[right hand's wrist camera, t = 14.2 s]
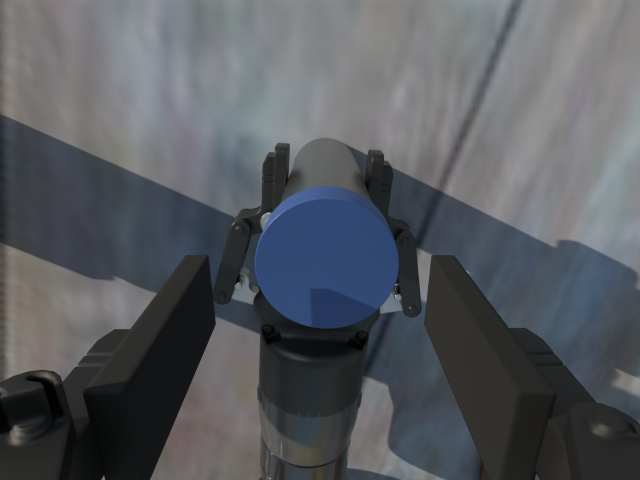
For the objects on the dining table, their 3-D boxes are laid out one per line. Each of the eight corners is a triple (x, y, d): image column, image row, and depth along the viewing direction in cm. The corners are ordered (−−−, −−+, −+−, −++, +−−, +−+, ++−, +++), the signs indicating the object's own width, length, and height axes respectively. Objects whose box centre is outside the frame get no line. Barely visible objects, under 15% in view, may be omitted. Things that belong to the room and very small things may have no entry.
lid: (242, 205, 16) (233, 220, 15) (376, 169, 16) (382, 180, 14) (283, 318, 18) (280, 341, 17) (404, 289, 18) (411, 311, 16)
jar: (285, 148, 30) (246, 221, 15) (348, 130, 30) (373, 187, 15) (303, 208, 32) (285, 328, 17) (364, 192, 31) (400, 301, 16)
